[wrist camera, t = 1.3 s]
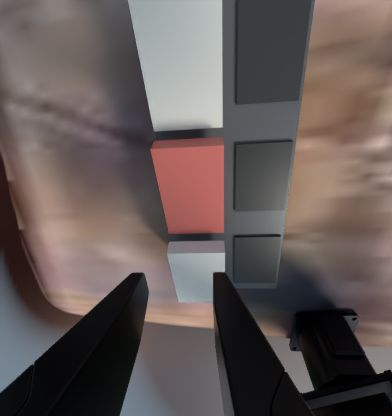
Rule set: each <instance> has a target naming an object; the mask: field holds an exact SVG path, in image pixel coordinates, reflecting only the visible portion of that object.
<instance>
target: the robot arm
mask: <svg viewBox="0 0 392 416" xmlns="http://www.w3.org/2000/svg"><path fill="white" fill-rule="evenodd" d="M148 295H149V291H148V286H147V281H146V277H145V274H144V273H131V274H130V275H129V276H128V277H127V278H125V279H124V280H123V281H122V282H121V283H120V284H119V285H118V286H117V287H116V288H115V289H113V290H112V291H111V292H110V293H109V294H108V295H107V296H106V297H105V298H104V299H103V300H102V301H100V302H99V303H98V304H97V305H96V306H95V307H94V308H93V309H92V310H91V311H90V312H88V313H87V314H86V315H85V316H84V317H83V318H82V319H81V320H80V321H79V322H78V323H77V324H75V325H74V326H73V327H72V328H71V329H70V330H69V331H68V332H67V333H66V334H64V335H63V336H62V337H61V338H60V339H59V340H58V341H57V342H56V343H55V344H54V345H52V346H51V347H50V348H49V349H48V350H47V351H46V352H45V353H44V354H43V355H42V356H41V357H39V358H38V359H37V360H36V361H35V362H34V365H30V367H28V369H26V370H25V371H24V372H23V373H22V374H21V375H20V376H18V377H17V378H16V379H15V380H14V381H13V382H12V383H11V384H10V385H8V386H7V387H6V388H5V389H4V390H3V391H2V392H1V393H0V416H120V412H121V409H122V406H123V402H124V399H125V395H126V392H127V388H128V384H129V381H130V377H131V373H132V370H133V367H134V363H135V360H136V356H137V353H138V349H139V345H140V341H141V336H142V330H143V325H144V319H145V313H146V308H147V302H148ZM213 313H214V332H215V333H214V334H215V348H216V357H217V364H218V372H219V380H220V387H221V395H222V402H223V410H224V416H392V372H391V370H387V371H384V373H380V374H376V372H375V370H374V369H373V367H372V365H371V364H370V362H369V360H368V358H367V357H366V355H365V352H364V350H363V348H362V347H361V345H360V343H359V341H358V340H357V338H356V336H355V334H354V331H355V329H356V326H357V324H358V321H359V316H358V315H357V314H356V313H330V312H299V313H297V314H296V315H295V319H294V324H293V329H292V334H291V339H290V344H289V347H290V350H291V351H301V352H302V355H303V358H304V361H305V364H306V367H307V370H308V373H309V376H310V379H311V382H312V385H313V388H314V391H310V392H307V393H303V394H302V393H300V392H299V391H298V389H297V388H296V386H295V385H294V383H293V381H292V380H291V378H290V377H289V375H288V373H287V372H284V371H285V369H284V367H283V365H282V364H281V362H280V360H279V359H278V357H277V356H276V354H275V352H274V351H273V349H272V347H271V346H270V344H269V342H268V341H267V339H266V337H265V336H264V334H263V333H262V331H261V329H260V328H259V326H258V324H257V323H256V321H255V319H254V318H253V316H252V315H251V313H250V311H249V310H248V308H247V306H246V305H245V303H244V302H243V300H242V298H241V297H240V295H239V293H238V292H237V290H236V288H235V287H234V285H233V284H232V282H231V280H230V279H229V277H228V275H227V274H226V273H225V272H214V273H213Z"/></svg>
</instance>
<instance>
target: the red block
mask: <svg viewBox="0 0 392 416" xmlns="http://www.w3.org/2000/svg"><path fill="white" fill-rule="evenodd" d="M150 150H151V155H152V159H153V164H154V168H155V173H156V177H157V182H158V187H159V191H160V196H161V200H162V205H163V209H164V214H165V218H166V223H167V227H168V232H169V234H191V233H224V141H223V137H213V138H195V139H178V140H160V141H154V142H153V144H152V147H151V149H150Z"/></svg>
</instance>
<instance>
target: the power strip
mask: <svg viewBox="0 0 392 416" xmlns="http://www.w3.org/2000/svg"><path fill="white" fill-rule="evenodd" d="M314 2H315V0H222V86H223V127H222V128H205V129H189V130H172V131H156V136H157V141H160V140H178V139H195V138H213V137H223V141H224V233H191V234H171V241H172V242H178V241H224V245H225V273H226V274H227V275H228V277H229V279H230V280H231V282H232V284H233V285H234V287H235V288H276V287H277V280H278V272H279V265H280V257H281V250H282V242H283V235H284V227H285V220H286V212H287V205H288V197H289V190H290V182H291V175H292V167H293V160H294V152H295V145H296V137H297V130H298V122H299V115H300V107H301V100H302V92H303V85H304V77H305V70H306V62H307V55H308V47H309V40H310V32H311V25H312V17H313V10H314Z"/></svg>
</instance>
